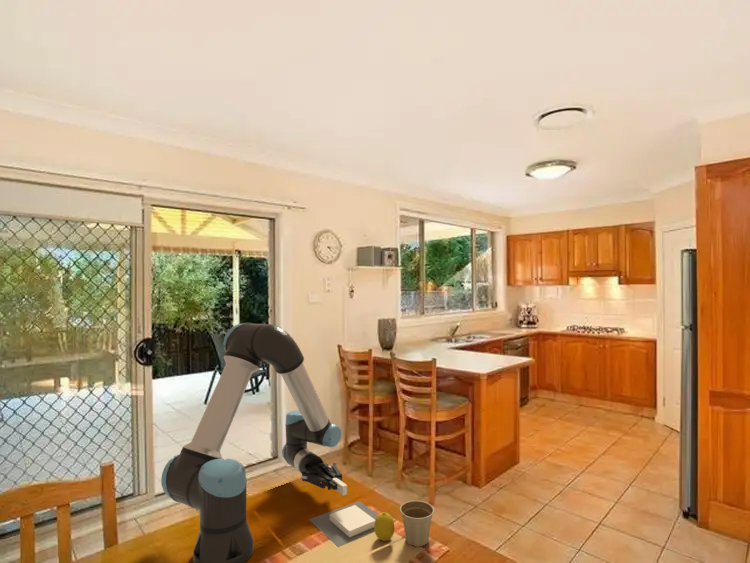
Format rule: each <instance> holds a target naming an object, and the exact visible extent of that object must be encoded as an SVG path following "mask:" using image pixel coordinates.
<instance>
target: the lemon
mask: <svg viewBox="0 0 750 563" xmlns="http://www.w3.org/2000/svg"><path fill="white" fill-rule="evenodd" d="M374 529H375V532H374V533H375V536H376V537H377V539H379V540H380V541H383V542H387V541H389V540H390V539H392V538H393V535H394V533H395V521H394V519H393V516H392V515H391V514H389V513H388V512H385V511H383V512H381V513H380V514H378V516H377V517H376V520H375V525H374Z"/></svg>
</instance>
